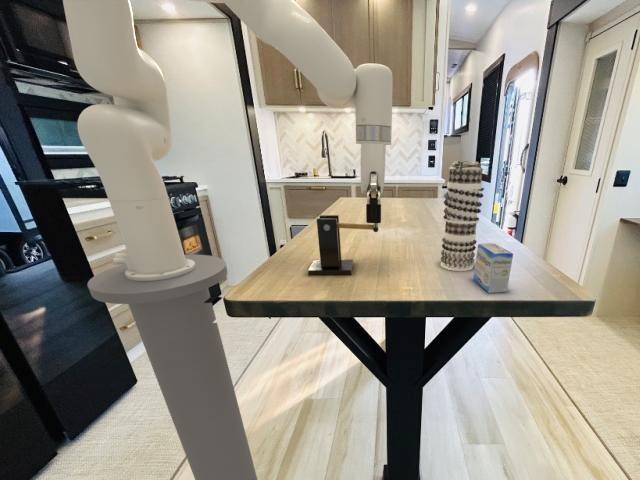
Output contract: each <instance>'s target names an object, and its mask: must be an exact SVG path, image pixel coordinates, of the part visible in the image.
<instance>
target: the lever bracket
mask: <svg viewBox="0 0 640 480" xmlns="http://www.w3.org/2000/svg"><path fill="white" fill-rule="evenodd" d="M337 223H340V216H339V214H320V215H319V217H318V218H316V227H317V228H316V230H317V239H318V247H319V248H318V250H319V259H313V261H312V263H311V264H310V266H309V268H308V269H307V274H308V276H351V275H352V273H353V268H354V259H342V246H341V245H342V244H341V232H340V231H341V230H340V229H341V228H337Z"/></svg>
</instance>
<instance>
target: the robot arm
mask: <svg viewBox="0 0 640 480" xmlns="http://www.w3.org/2000/svg"><path fill="white" fill-rule="evenodd" d="M190 1H192V2H202V3H213V4H225V5H226V7H227V8H228V9H229V10H231V11H232V12H233V14H234V15H236V17H237V18H238V19H239V20H240V21H241V22H242V23H243V24H244V25H245V26H246V27H247V28H248V29H249V30H250V31H251V32H252V33H253V34H254V36H256V37H257V38H258V39H259V40H260V41H262V42H263V43H264V44H267V45H269V46H271V47H273V48H274V49H276V50H277V51H278V52H279V53H281V54H282V55H283V56H284V57H285V58H286V59H287V60H288V61H289V62H290V63H291V64H292V65H293V66H294V67H295V68H296V69H297V70H298V71H299V72H300V73H301V74H302V75H303V76H304V77H305V78H306V79H307V81H309V82H310V83H311V85H312V86H314V88H315V90H316V93H317V96H318V97H319V99H320V101H321V102H322V103H323V104H324V105H326V106H327V107H329V108H332V109H346V108H347V109H348V108H354V110H355V111H354V112H355V144H358V145H360V193H361V194H363V195H364V194H365V192H366V205H365V217H366V218H365V220H366V221H365V222H366V224H374V223H377V224H381V223H382V204H381V195H382V194H383V193H384V187H385V178H386V175H385V174H386V150H387V146H391V145H392V132H393V131H392V125H393V85H394V82H393V80H394V79H393V72H392V69H390V67H388V66H386V65H384V64H380V63H372V62H371V63H363V64H360V65H358V66H357V67H356V68H355V67H354V65H353V63H352V62H351V60H350V59H349V57H348V56H347V55H346V53H345V52H344V51H343V50H342V49H341V47H339V45H338V44H337V43H336V42H335V41H334V39H332V38H331V36H330V35H329V34H328V33H327V32H326V30H325V29H324V28H323V27H322V26H321V25H320V24H319V23H318V22H317V20H316V19H314V17H312V16H311V15H310V13H308V12H307V11H306V10H305V9H304V8H302V6H300V5H299V4H298V3H297V2H296V1H295V0H190ZM62 4H63V9H64V15H65V21H66V25H67V31H68V35H69V41H70V46H71V52H72V57H73V61H74V65H75V66H76V70H77V72H78V74H79V75H80V77H81V78H82V79H83V81H85V83H86V84H87V85H89V86H90V87H91V88H92V89H95V90H96V91H98V92H100V93H103V94H105V95H107V96H112V98H113V103H114V104H111V103H97V104H92V105H90V106H88V107H86V108H84V109H83V110H82V111H81V113H80V114H79V116H78V119H77V125H76V126H77V133H78V136H79V140H80V141H81V144H82V146H83V148H84V149H85V151H86V153H87V155H88V156H89V158H90V160H91V162H92V163H93V165H94V167H95V169H96V171H97V174H98V177H99V179H100V180H101V183H102V185H103V188H104V191H105V194H106V196H107V199H108V201H109V204H110V207H111V210H112V213H113V216H114V218H115V221H116V224H117V226H118V229H119V232H120V236H121V238H122V241H123V244H124V247H125V249H126V252H127V253H126V252H119V253H115V254H114V258H112V263H113V264H114V265H124V264H126V265H127V268H128V269H127V270H126V271H125V275H126V277H127V278H128V279H130V280H133V281H157V280H164V279H169V278H174V277H178V276H181V275H184V274H187V273H189V272H191V271H192V270H194V269H195V267H196V265H195V262H194V261H193V260H190V259H185V255H186V254H185V252H184V249H183V245H182V241H181V237H180V234H179V231H178V230H179V229H178V227H177V224H176V220H175V215H174V213H173V209H172V205H171V202H170V198H169V195H168V191H167V188H166V185H165V182H164V179H163V177H162V175H161V172H160V170H159V169H158V167H157V165H156V163H155V162H156V161H159V160H162V159H164V158H165V157H166V156H168V154H169V152H170V151H171V148H172V128H171V117H170V109H169V107H170V106H169V99H168V90H167V84H166V80H165V77H164V75H163V72H162V70H161V68H160V67H159V65H158V64H157V62H156V61H155V60H154V59H153V58H152V57H151V56H150V55H149V54H148V53H146V52H145V51H144V50H142V49H141V48H139V47H138V44H137V37H136V31H135V26H134V14H133V9H132V4H131V0H62Z"/></svg>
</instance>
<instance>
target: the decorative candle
mask: <svg viewBox="0 0 640 480" xmlns="http://www.w3.org/2000/svg"><path fill="white" fill-rule="evenodd" d="M448 169H449V173H448V181H447V185H446V186H447V187H446V188H447V191H446V192H445V194H443V197H444V198H445V199H444V200H443V204H444V206H445V208H444V209H443V213H444V215H443V220H444V222H445V225H444V227H445V229H444V231H443V238H441V241H442V244H441V248H442V250H441V251H440V255H441V257H440V261H441V262H440V266H441V267H442V268H443V269H445V270H449V271H454V272H467V271H470V270H473V268H474V264H475V259H474V258H475V256H476V253H475V252H474V251H476V250H477V249H476V248H477V246H476V244H477V240H476V237H477V232H476V231H477V223H479V221H480V218H479V217H478V214H480V213H481V212H482V210H481V209H480V208H481V206H482V205H483V204H482V202H481V201H480V199H481V198H484V193H482V192H483V191H484V190H485V187H482V185H483V182H482V180H483V179H482V178H483V171H484V168H482V166H481V163H480V162H479V161H474V160H455V161H453V163H452V164H451V165H450V167H448Z"/></svg>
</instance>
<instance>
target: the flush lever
mask: <svg viewBox="0 0 640 480" xmlns="http://www.w3.org/2000/svg"><path fill="white" fill-rule="evenodd" d="M337 228H339V229H351V230H369V231H370V230H371V231H373V232H374V233H378V232H379V223H372V224H371V223H350V222H349V223H348V222H339V223H337Z"/></svg>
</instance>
